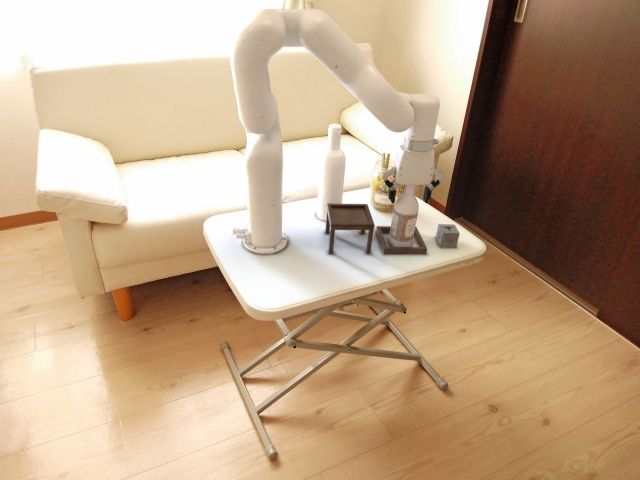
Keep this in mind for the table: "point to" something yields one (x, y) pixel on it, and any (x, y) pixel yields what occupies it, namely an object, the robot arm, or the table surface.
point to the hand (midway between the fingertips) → (408, 201)
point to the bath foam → (404, 218)
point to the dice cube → (447, 235)
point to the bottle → (331, 172)
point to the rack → (365, 228)
